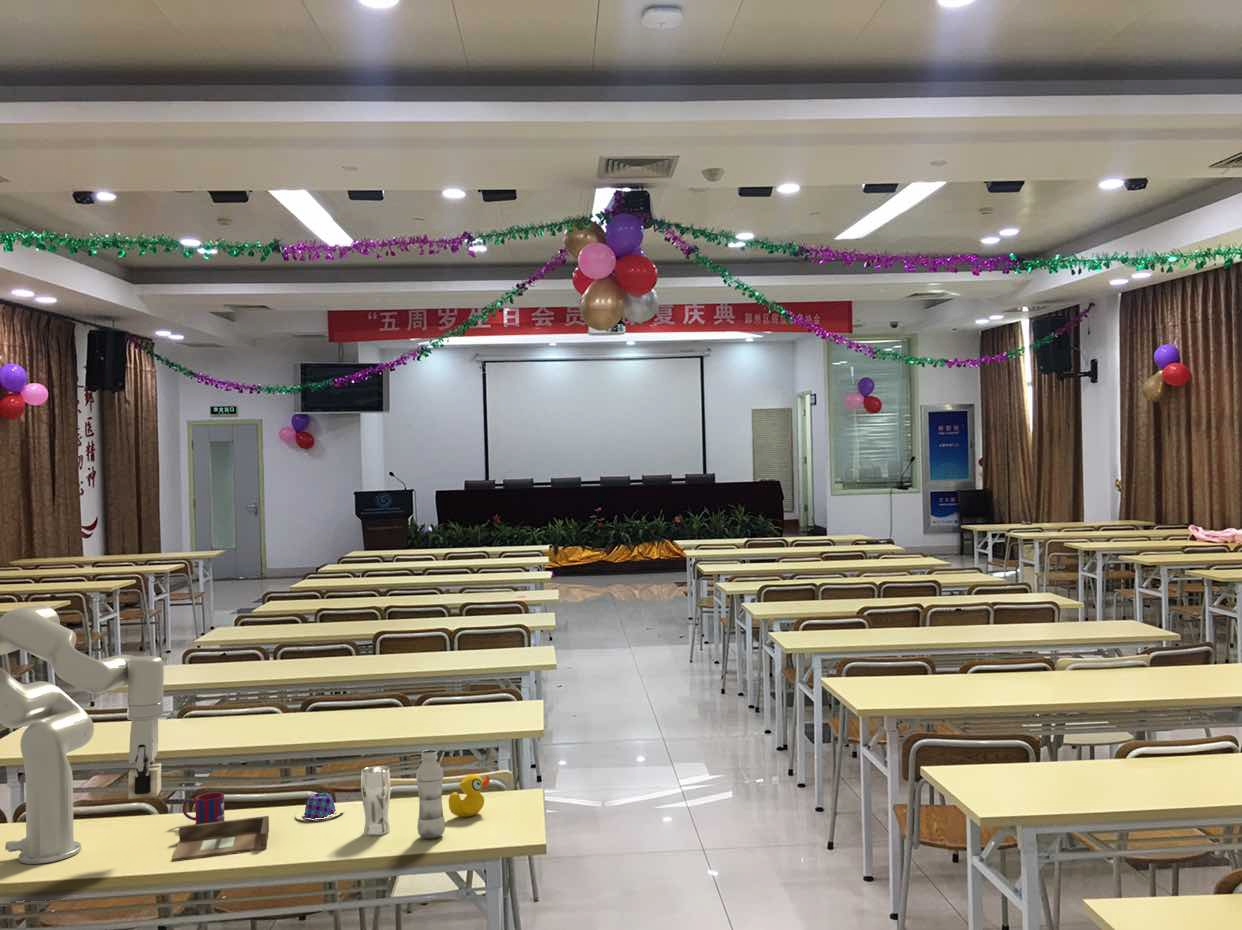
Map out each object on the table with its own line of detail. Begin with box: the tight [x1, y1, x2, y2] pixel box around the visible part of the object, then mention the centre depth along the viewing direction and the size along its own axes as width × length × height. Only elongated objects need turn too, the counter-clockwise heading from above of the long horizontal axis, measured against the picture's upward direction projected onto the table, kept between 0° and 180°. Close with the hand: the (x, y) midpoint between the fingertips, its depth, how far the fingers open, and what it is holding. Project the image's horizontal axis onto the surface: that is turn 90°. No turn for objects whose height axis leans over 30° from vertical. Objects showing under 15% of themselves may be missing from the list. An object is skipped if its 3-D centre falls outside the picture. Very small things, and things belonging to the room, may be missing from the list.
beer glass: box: [360, 765, 392, 837], centre depth 239 cm, size 7×7×15 cm
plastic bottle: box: [415, 749, 446, 840], centre depth 234 cm, size 6×7×20 cm
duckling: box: [448, 773, 491, 818], centre depth 250 cm, size 11×5×10 cm, turn 127°
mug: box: [182, 792, 225, 825], centre depth 250 cm, size 7×10×7 cm
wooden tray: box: [171, 815, 270, 862], centre depth 233 cm, size 20×14×4 cm
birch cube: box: [127, 763, 162, 800], centre depth 229 cm, size 6×6×6 cm
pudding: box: [295, 792, 336, 822], centre depth 254 cm, size 12×12×5 cm
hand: (145, 788), depth 229 cm, fingers closed on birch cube, 6 cm apart
